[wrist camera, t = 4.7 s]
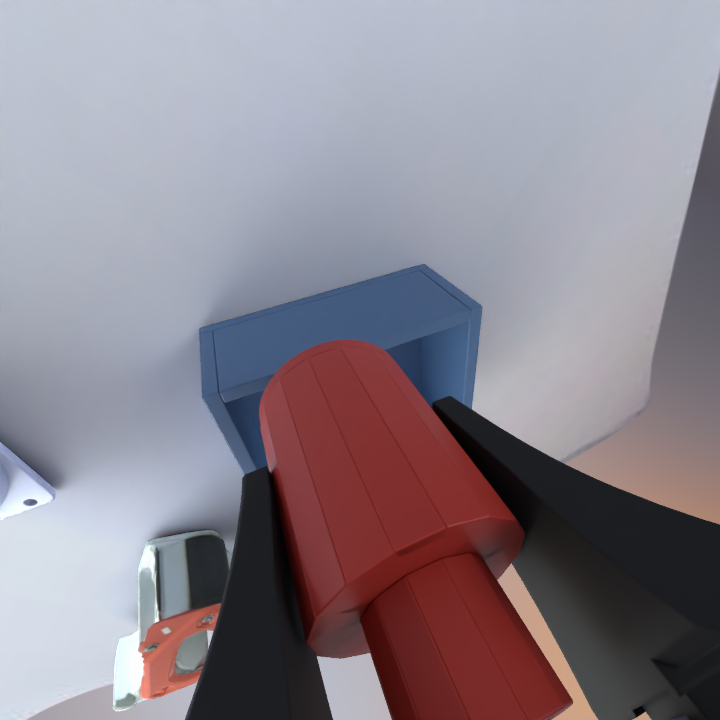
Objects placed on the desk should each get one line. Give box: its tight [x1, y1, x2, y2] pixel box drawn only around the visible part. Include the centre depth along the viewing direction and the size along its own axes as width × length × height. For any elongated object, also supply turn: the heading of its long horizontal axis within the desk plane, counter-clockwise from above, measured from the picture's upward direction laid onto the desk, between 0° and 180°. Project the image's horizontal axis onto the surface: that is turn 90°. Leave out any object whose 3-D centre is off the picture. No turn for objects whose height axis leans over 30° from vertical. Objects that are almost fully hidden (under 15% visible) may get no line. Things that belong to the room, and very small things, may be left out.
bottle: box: [259, 340, 573, 720], centre depth 9 cm, size 5×5×9 cm
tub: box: [199, 264, 482, 475], centre depth 19 cm, size 12×11×5 cm
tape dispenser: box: [113, 530, 232, 711], centre depth 28 cm, size 18×5×20 cm
